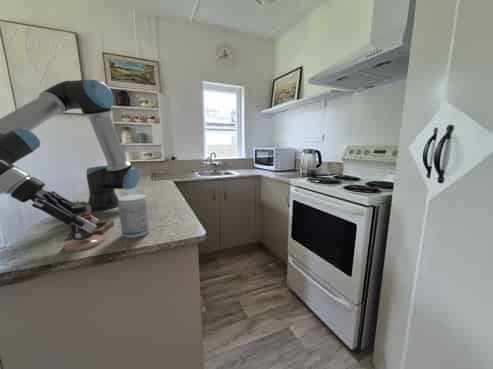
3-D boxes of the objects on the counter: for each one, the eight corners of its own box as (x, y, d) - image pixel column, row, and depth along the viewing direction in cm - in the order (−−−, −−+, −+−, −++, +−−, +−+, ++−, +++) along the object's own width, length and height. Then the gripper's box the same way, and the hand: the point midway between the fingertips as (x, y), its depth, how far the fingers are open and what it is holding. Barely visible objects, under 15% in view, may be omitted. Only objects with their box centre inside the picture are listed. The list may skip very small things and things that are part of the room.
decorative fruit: (96, 216, 101) (93, 196, 99) (88, 222, 93) (85, 201, 91) (73, 218, 99) (70, 198, 97) (63, 224, 91) (59, 202, 89)
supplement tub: (125, 230, 84) (121, 195, 81) (151, 227, 87) (147, 193, 84) (119, 240, 75) (114, 201, 72) (147, 237, 78) (143, 198, 75)
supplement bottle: (82, 242, 69) (76, 209, 67) (67, 240, 70) (61, 208, 68) (98, 234, 75) (93, 204, 72) (84, 233, 76) (79, 203, 74)
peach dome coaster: (76, 238, 77) (76, 236, 77) (109, 235, 79) (108, 233, 79) (55, 253, 66) (55, 250, 66) (94, 249, 68) (93, 246, 68)
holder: (85, 227, 88) (84, 222, 88) (113, 225, 90) (113, 220, 90) (68, 238, 77) (68, 233, 77) (101, 235, 79) (100, 230, 79)
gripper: (24, 189, 70) (91, 225, 81) (-8, 202, 54) (81, 245, 64) (42, 172, 72) (105, 210, 82) (16, 180, 55) (99, 226, 66)
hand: (94, 226), depth 73 cm, fingers closed on supplement bottle, 6 cm apart
